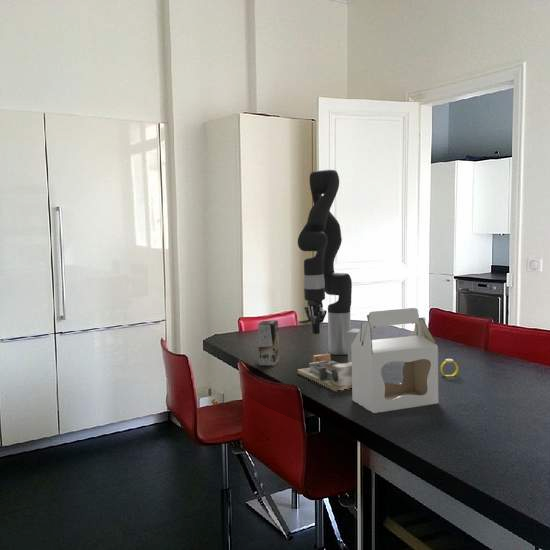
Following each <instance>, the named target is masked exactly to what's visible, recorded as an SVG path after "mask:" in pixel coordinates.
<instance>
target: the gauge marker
mask: <svg viewBox="0 0 550 550" xmlns="http://www.w3.org/2000/svg"><path fill="white" fill-rule="evenodd" d="M319 378H320V379H323V378H327V377H326V367H321V368H319Z"/></svg>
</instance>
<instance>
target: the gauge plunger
mask: <svg viewBox="0 0 550 550" xmlns="http://www.w3.org/2000/svg"><path fill="white" fill-rule="evenodd" d="M331 355H332V354H330V353H329V352H328V353H323V354H313V355H312V362H309V363H308V366H309V367H310V366H314V365H317V366H319V367H326V370H328V371H332V365H336V362H337V361H335V360H332V358H331ZM334 361H335V362H334Z"/></svg>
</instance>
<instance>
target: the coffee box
mask: <svg viewBox="0 0 550 550" xmlns="http://www.w3.org/2000/svg"><path fill="white" fill-rule="evenodd" d="M257 327H258V328H257V334H258V338H257V339H258V341H257V342H258V365H259V366H271V367H272V366H276V364H277V363H278V362H279V361H280V353H279V346H280V345H279V321H278V320H262V321H260V322H259V323H258V324H257Z"/></svg>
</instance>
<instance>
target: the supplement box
mask: <svg viewBox="0 0 550 550" xmlns="http://www.w3.org/2000/svg"><path fill="white" fill-rule="evenodd" d="M360 329H361V328H352V329H351V330H350V331H348V332H347V343H348V354H347V363H349V362H352V351H351V345H352V343H353V341H354V339H355V338H356V336H357V334H358V332H359V331H360Z"/></svg>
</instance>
